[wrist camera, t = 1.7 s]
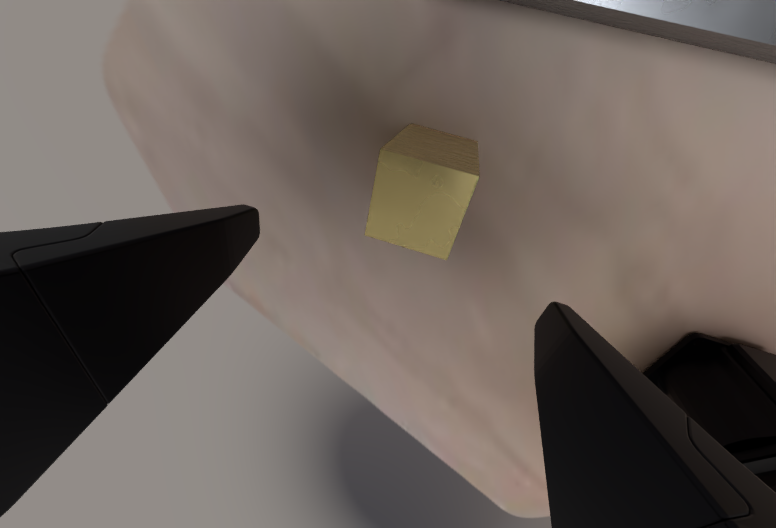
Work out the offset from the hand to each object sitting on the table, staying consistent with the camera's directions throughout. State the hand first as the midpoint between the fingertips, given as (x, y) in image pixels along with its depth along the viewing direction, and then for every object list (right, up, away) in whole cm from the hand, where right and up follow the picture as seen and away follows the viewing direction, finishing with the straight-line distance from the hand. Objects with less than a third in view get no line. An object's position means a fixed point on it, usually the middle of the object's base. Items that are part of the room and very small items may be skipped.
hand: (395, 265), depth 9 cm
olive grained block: (+3, +6, +10) cm, 12 cm away
